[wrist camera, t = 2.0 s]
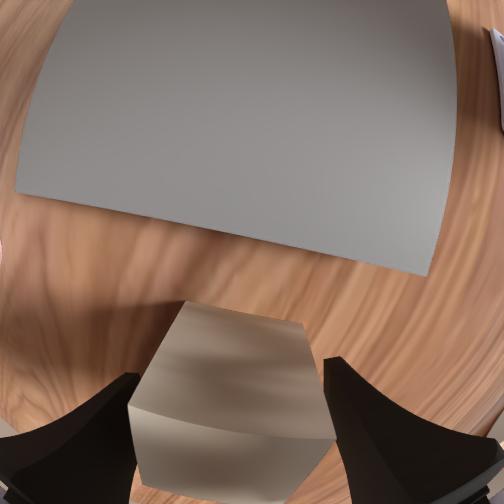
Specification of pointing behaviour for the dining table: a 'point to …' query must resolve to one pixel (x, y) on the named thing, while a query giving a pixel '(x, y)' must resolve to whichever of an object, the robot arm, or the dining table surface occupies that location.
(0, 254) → the smoothie
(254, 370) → the cream cube
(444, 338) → the dining table surface
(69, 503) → the robot arm
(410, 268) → the plinth
